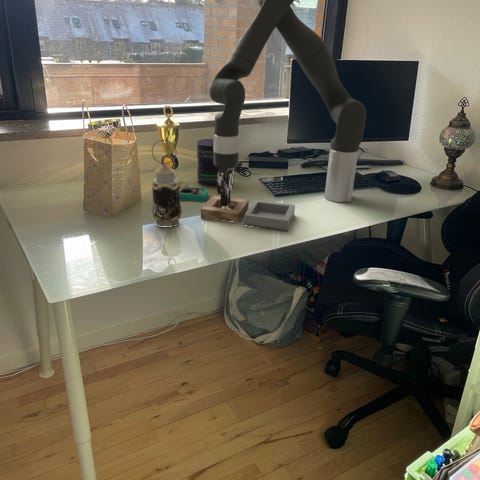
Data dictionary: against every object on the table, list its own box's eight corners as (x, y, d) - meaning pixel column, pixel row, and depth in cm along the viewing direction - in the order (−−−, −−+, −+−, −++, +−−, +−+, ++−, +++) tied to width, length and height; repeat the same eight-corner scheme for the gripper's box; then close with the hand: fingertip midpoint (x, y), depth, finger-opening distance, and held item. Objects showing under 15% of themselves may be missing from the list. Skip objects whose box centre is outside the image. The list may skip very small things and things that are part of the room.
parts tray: (294, 215, 144) (295, 204, 143) (286, 231, 133) (287, 220, 132) (254, 210, 147) (254, 199, 146) (243, 225, 136) (244, 215, 135)
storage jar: (195, 178, 174) (194, 139, 168) (220, 177, 176) (221, 138, 170) (199, 187, 166) (199, 146, 159) (226, 185, 168) (226, 145, 161)
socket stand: (248, 208, 148) (248, 200, 147) (238, 223, 138) (238, 213, 136) (213, 204, 151) (213, 195, 150) (200, 217, 141) (200, 208, 139)
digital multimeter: (206, 202, 153) (206, 194, 152) (162, 200, 154) (161, 192, 153) (209, 195, 160) (209, 187, 159) (167, 193, 161) (166, 185, 159)
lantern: (151, 229, 132) (145, 143, 121) (153, 218, 139) (148, 136, 129) (181, 228, 133) (179, 143, 122) (182, 217, 140) (180, 136, 129)
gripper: (231, 156, 129) (230, 214, 136) (244, 145, 141) (242, 198, 148) (206, 154, 130) (206, 210, 138) (221, 143, 142) (220, 195, 150)
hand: (225, 204), depth 143 cm, fingers closed
